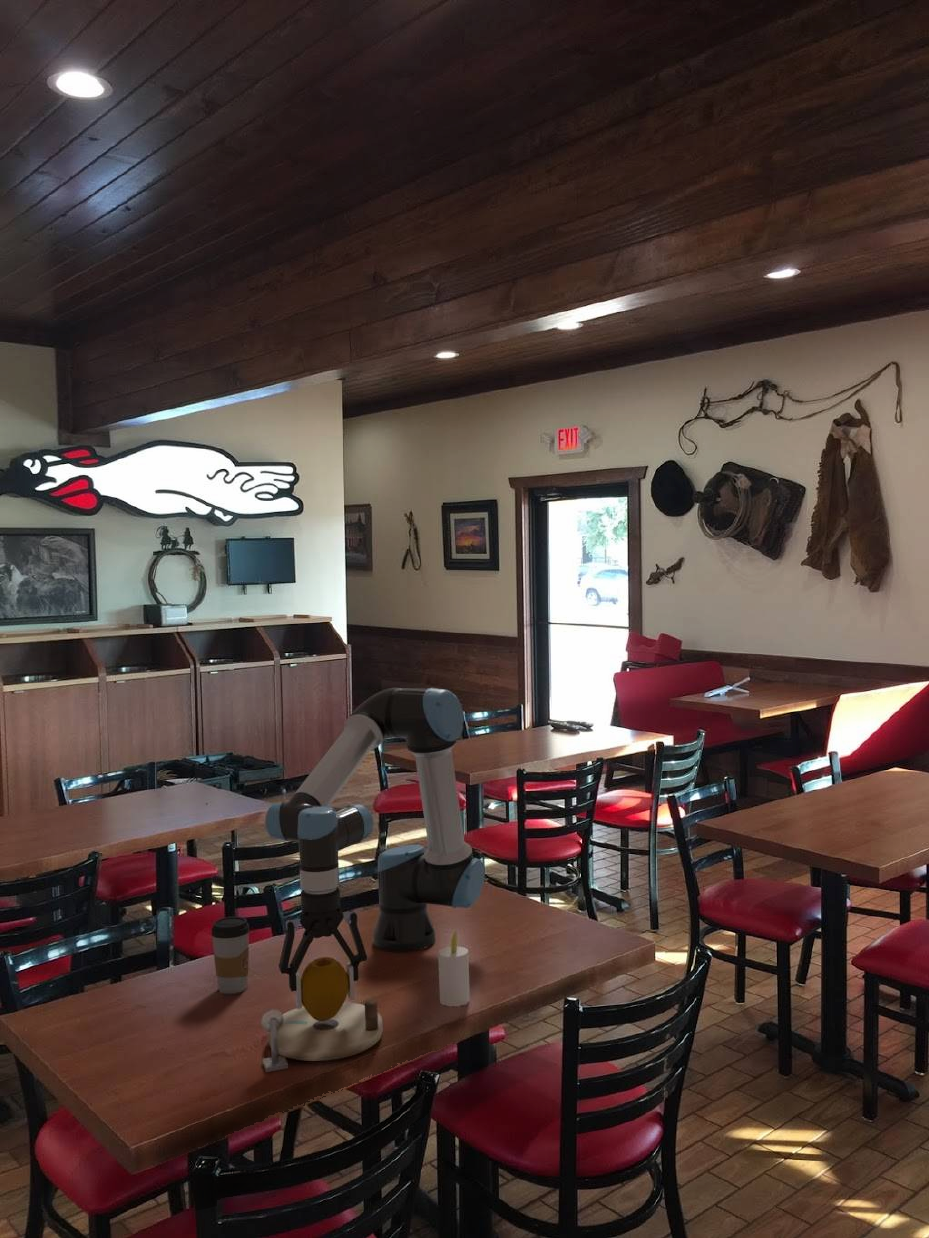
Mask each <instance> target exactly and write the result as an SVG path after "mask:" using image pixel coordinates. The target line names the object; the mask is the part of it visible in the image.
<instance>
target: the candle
mask: <svg viewBox="0 0 929 1238" xmlns="http://www.w3.org/2000/svg"><path fill="white" fill-rule="evenodd" d="M457 935H458V933H457V930H454V932H453V934H452V937H451V940H450V941H451V942H450V946H446V947H443V948H442V947H441V949H439V950H438V954H437V956H438V965H437V967H438V972H437V974H438V981H439V982H438V983H439V984H438V985H439V1002H440V1004H441V1005H443V1006H445V1005H446V1006H445V1007H450V1008H452V1007H451V1006H455V1007H456V1006H457V1007H462V1006H461V1005H463V1006H465V1005H467V1004H469V1003H470V1000H471V995H470V993H471V992H470V990H471V989H470V967H469V965H470V964H469V963H470V962H469V950H468V949H467V948H466V947H463V946H458V936H457ZM468 1002H469V1003H468ZM455 1007H454V1008H455Z"/></svg>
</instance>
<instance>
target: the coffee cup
mask: <svg viewBox="0 0 929 1238" xmlns="http://www.w3.org/2000/svg"><path fill="white" fill-rule="evenodd" d="M212 925H213V926H212V927H211V936H212V945H213V958H214V967H215V975H216V980H217V981H216V982H217V989H218V990H219V992H220V993H222V994H224V995H225V994H227V995H232V994H234V995H235V994H239V993H242V992H244V991H245V990H246V989H247V987H248V984H249V983H248V982H249V979H248V978H249V977H248V976H249V961H250V960H249V952H250V951H249V950H250V948H249V939H250V938H249V937H250V936H249V935H250V933H249V932H250V924H249V923H248V920H247V918H245V917H242V916H226V917H221V918H219V919H216V920H215V921H213V924H212Z"/></svg>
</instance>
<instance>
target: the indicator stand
mask: <svg viewBox="0 0 929 1238" xmlns="http://www.w3.org/2000/svg"><path fill="white" fill-rule="evenodd" d="M282 1014H283V1013H282V1012H281V1011H280V1010H279V1009H276V1008H272V1009H268V1010H266V1011H265V1012H264V1013H263V1015H262V1017H261V1026H262V1028H263V1029H264V1031H265V1032H267V1033H269V1032H271V1047H270V1048H271V1049H270V1050H271V1057H265V1058H262V1065H263V1067H264V1070H265V1073H271V1072H274V1071H275V1072H276V1071H281V1070H285V1069H286V1070H287V1069H289V1063H288V1061H287V1059H286V1058H287V1057H284V1056H282V1055H279V1054H278V1038H277V1031H278V1030H279V1029H280V1028H281V1027H282V1025H283V1022H284V1018H283V1015H282Z"/></svg>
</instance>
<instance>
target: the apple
mask: <svg viewBox="0 0 929 1238" xmlns="http://www.w3.org/2000/svg"><path fill="white" fill-rule="evenodd" d="M300 978H301V1002H302V1007H303V1006H304V1007H305V1009H306V1011H307V1012H308V1013H309V1014H310V1015H311V1016H312V1018H314V1019H315V1020H317V1021H327V1020H329V1019H331V1018H333V1017H334V1016H335V1015H336V1014H337V1013H338V1012H339V1010H340V1009H341V1007H342V1005H343V1003H344V1002H346V999H347V997H348V989H349V980H348V976H347V970H346V968H345V967H344V966H343V964H342V963H340V961H338V960H336V959H335V958H333V957H329V956H323V957H318V958H314V960H312V961H310V962H309V963H308V964H307V965H306V966H305V968H304V970H303V971H302V975H301V976H300Z"/></svg>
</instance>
